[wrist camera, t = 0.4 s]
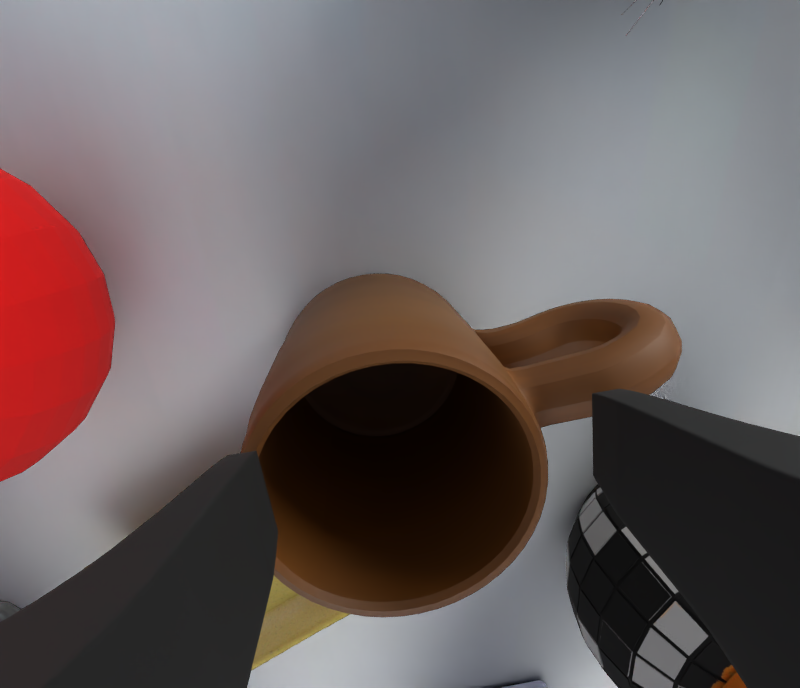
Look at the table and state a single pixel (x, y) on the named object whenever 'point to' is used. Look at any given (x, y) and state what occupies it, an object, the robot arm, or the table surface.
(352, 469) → the mug
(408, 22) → the table surface
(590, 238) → the table surface
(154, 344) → the table surface
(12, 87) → the table surface
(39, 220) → the tomato
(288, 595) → the saucer
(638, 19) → the toy
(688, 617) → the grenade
